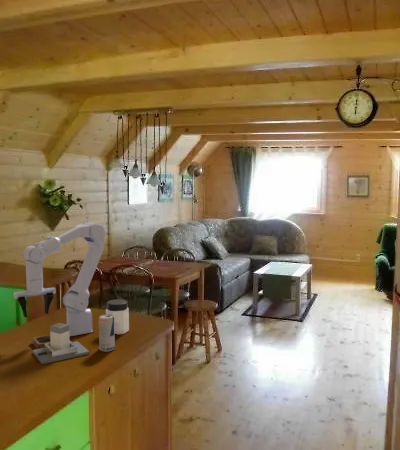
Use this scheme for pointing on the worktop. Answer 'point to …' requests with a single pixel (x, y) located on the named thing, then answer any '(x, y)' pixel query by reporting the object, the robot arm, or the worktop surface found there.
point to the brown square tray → (40, 339)
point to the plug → (59, 336)
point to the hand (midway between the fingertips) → (36, 314)
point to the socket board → (59, 352)
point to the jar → (119, 315)
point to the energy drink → (106, 333)
